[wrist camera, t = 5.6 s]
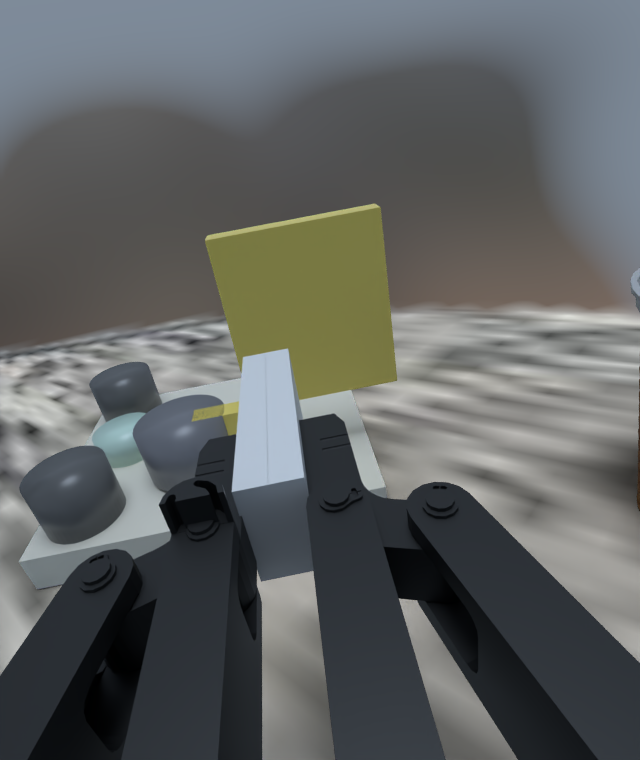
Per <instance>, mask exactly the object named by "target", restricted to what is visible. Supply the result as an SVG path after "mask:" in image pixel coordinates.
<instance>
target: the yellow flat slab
mask: <svg viewBox="0 0 640 760" xmlns="http://www.w3.org/2000/svg"><path fill="white" fill-rule="evenodd" d="M205 243H206V246H207V250H208V254H209V257H210V261H211V265H212V268H213V272H214V276H215V279H216V283H217V286H218V290H219V294H220V297H221V301H222V305H223V308H224V312H225V316H226V319H227V323H228V327H229V330H230V334H231V338H232V341H233V345H234V348H235V352H236V356H237V359H238V363H239V367H240V370H241V374H242V363H243V357H247V356H252V355H257V354H262V353H267V352H272V351H277V350H282V349H288V350H289V355H290V360H291V364H292V369H293V374H294V378H295V383H296V388H297V392H298V397H299V400H303V399H308V398H313V397H318V396H323V395H328V394H333V393H338V392H343V391H348V390H353V389H358V388H363V387H368V386H373V385H378V384H383V383H388V382H393V381H397V374H396V363H395V353H394V343H393V332H392V322H391V311H390V301H389V291H388V280H387V270H386V260H385V249H384V238H383V229H382V218H381V207H379V206H378V205H376V204H371V205H365V206H360V207H355V208H349V209H344V210H339V211H334V212H328V213H323V214H318V215H313V216H308V217H302V218H297V219H292V220H286V221H281V222H276V223H271V224H265V225H261V226H255V227H250V228H244V229H240V230H234V231H229V232H223V233H218V234H213V235H208V236H207V237H206V239H205ZM238 410H239V401H238V402H233V403H228V404H224V403H223V402H222V401H221V400H220V399H219V398H217V397H215V396H211V395H189V396H184V397H180V398H176V399H173V400H170V401H168V402H165V403H163V404H161V405H159V406H157V407H155V408H153V409H152V410H150V411H149V412H147V413H146V414H145V415H144V416H142V417H141V418H140V419H139V420H138V422H137V423H136V424H135V426H134V429H133V438H134V440H135V442H136V445H137V447H138V449H139V452H140V454H141V456H142V459H143V461H144V463H145V466H146V468H147V470H148V473H149V475H150V477H151V480H152V482H153V484H154V485H155V486H156V487H158V488H159V489H162V490H164V491H169V490H170V489H171V488H172V487H174V486H175V485H177V484H179V483H181V482H182V481H185V480H188V479H191V478H194V477H195V472H196V467H197V462H198V457H199V452H200V451H201V449H202V448H203V447H204V445H205V444H206V443H207V442H208V440H209V439H214V438H219V437H224V436H229V435H234V434H237V422H238Z"/></svg>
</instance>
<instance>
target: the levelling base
mask: <svg viewBox="0 0 640 760" xmlns="http://www.w3.org/2000/svg"><path fill="white" fill-rule="evenodd" d="M89 385H90V388H91V390H92V392H93V394H94V397H95V399H96V401H97V403H98V405H99V408H100V410H101V412H102V416H101V418H100V420H99V421H98V423H97V425H96V427H95V428H94V430H93V432H92V434H91V435H90V437H89V439H88V441H87V442H86V444H85V446H79V447H74V448H71V449H67V450H64V451H62V452H59V453H57V454H55V455H53V456H51V457H49V458H47V459H45V460H44V461H42V462H41V463H39V464H38V465H36V466H35V467H34V468H33V469H32V470H30V471H29V472H28V474H27V475H26V476H25V477H24V478H23V480H22V482H21V484H20V493H21V494H22V496H23V498H24V499H25V501H26V503H27V504H28V506H29V507H30V509H31V511H32V512H33V514H34V516H35V517H36V519H37V520H38V522H39V524H40V525H39V527H38V529H37V531H36V532H35V534H34V536H33V538H32V539H31V541H30V543H29V545H28V546H27V548H26V550H25V552H24V554H23V555H22V557H21V559H20V561H19V563H20V565H21V566H22V568H23V569H24V571H25V572H26V574H27V575H28V577H29V578H30V580H31V581H32V583H33V584H34V586H35V587H36V588H37V589H42V588H47V587H52V586H57V585H62V584H64V582H65V581H66V579H67V578H68V577H69V575H70V574H71V573H72V572H73V571H74V570H75V569H76V568H77V566H78V565H80V564H81V563H82V562H84V561H85V560H87V559H88V558H89V557H91V556H93V555H95V554H98V553H100V552H102V551H106V550H112V549H120V550H125V551H127V552H128V553H129V554H130V555H131V556H132V558H133V559H135V558H137V557H140V556H142V555H144V554H146V553H148V552H151V551H153V550H155V549H157V548H159V547H161V546H162V545H164V544H166V543H167V542H168V541H170V538H171V532H170V530H169V528H168V525H167V523H166V521H165V519H164V516H163V514H162V512H161V509H160V507H159V503H160V501H161V499H162V497H163V496H164V495H165V494H166V493H167V492H168V491H164V490H162V489H159V488H158V487H156V486H155V485H154V484H153V482H152V480H151V477H150V475H149V473H148V470H147V468H146V466H145V463H144V461H143V459H142V456H141V454H140V452H139V449H138V447H137V445H136V442H135V440H134V438H133V429H134V426H135V424H136V423H137V422H138V420H139V419H140V418H141V417H142V416H144V415H145V414H146V413H147V412H149V411H150V410H152V409H153V408H155V407H157V406H159V405H161V404H163V403H165V402H168V401H170V400H173V399H176V398H180V397H184V396H189V395H211V396H215V397H217V398H219V399H220V400H221V401H222V402H223V403H224V404H228V403H233V402H238V401H239V399H240V387H241V378H239V379H234V380H228V381H223V382H218V383H213V384H208V385H203V386H198V387H193V388H188V389H183V390H178V391H173V392H168V393H163V394H159V393H158V390H157V388H156V385H155V382H154V380H153V377H152V374H151V372H150V369H149V367H148V365H147V364H146V363H143V362H130V363H125V364H121V365H117V366H114V367H112V368H109V369H107V370H105V371H103V372H101V373H100V374H98V375H97V376H95V377H94V378H93V379H92V380H91V382H90V384H89ZM299 402H300V406H301V411H302V416H303V419H308V418H313V417H318V416H323V415H328V414H333V413H334V414H336V415H337V416H338V417H339V418H340V419H342V420H343V421H344V422H345V426H346V429H347V433H348V436H349V439H350V443H351V446H352V450H353V453H354V457H355V460H356V464H357V467H358V471H359V474H360V477H361V481H362V483H363V485H364V486H365V487H366V488H367V489H368V490H369V491H370V492H372V493H373V494H375V495H377V496H380V497H383V498H387V492H386V486H385V483H384V480H383V478H382V475H381V472H380V469H379V466H378V464H377V461H376V458H375V455H374V452H373V450H372V447H371V444H370V441H369V439H368V436H367V433H366V430H365V427H364V425H363V422H362V419H361V416H360V413H359V411H358V408H357V405H356V402H355V399H354V397H353V394H352V391H351V390H348V391H343V392H338V393H333V394H328V395H323V396H318V397H313V398H308V399H303V400H299Z"/></svg>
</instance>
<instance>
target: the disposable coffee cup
mask: <svg viewBox="0 0 640 760" xmlns="http://www.w3.org/2000/svg"><path fill="white" fill-rule="evenodd" d="M630 281H631V293H632V294H633V295H634V296H635V297H636V307H637V308H638V310H639V312H640V268H639V269H638V270H637V271H636V272H635V273H634V274H633V276H632V278H631V280H630ZM639 371H640V367H639ZM639 387H640V379H639ZM638 435H639V440H638V448H639V451H638V494H637V504H638V508H639V511H640V392H639V429H638Z"/></svg>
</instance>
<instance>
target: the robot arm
mask: <svg viewBox="0 0 640 760" xmlns="http://www.w3.org/2000/svg"><path fill="white" fill-rule="evenodd" d="M159 507H160V509H161V512H162V514H163V516H164V519H165V521H166V523H167V525H168V528H169V530H170V532H171V538H170V541H168V542H167V543H166V544H164V545H162V546H161V547H159V548H157V549H155V550H153V551H151V552H148V553H146V554H144V555H142V556H140V557H137V558H135V559H133V558H132V556H131V555H130V554H129V553H128V552H127V551H125V550H120V549H112V550H106V551H102V552H100V553H98V554H95V555H93V556H91V557H89V558H88V559H87V560H85V561H84V562H82V563H81V564H80V565H78V566H77V568H76V569H75V570H74V571H73V572H72V573H71V574H70V575H69V577H68V578H67V579H66V581H65V582H64V584H63V585H62V587H61V588H60V590H59V591H58V593H57V594H56V595H55V597H54V598H53V600H52V601H51V603H50V604H49V606H48V607H47V609H46V610H45V612H44V613H43V614H42V616H41V617H40V619H39V620H38V622H37V623H36V625H35V626H34V628H33V629H32V630H31V632H30V633H29V635H28V636H27V638H26V639H25V641H24V642H23V644H22V645H21V646H20V648H19V649H18V651H17V652H16V654H15V655H14V657H13V658H12V660H11V661H10V662H9V664H8V665H7V667H6V668H5V670H4V671H3V673H2V674H1V676H0V760H262V602H261V598H260V594H259V591H258V588H257V570H258V573H259V576H260V579H261V581H266V580H271V579H276V578H280V577H285V576H290V575H295V574H300V573H305V572H310V571H314V579H315V587H316V596H317V605H318V613H319V622H320V630H321V639H322V648H323V656H324V665H325V673H326V682H327V691H328V699H329V708H330V717H331V725H332V734H333V742H334V751H335V760H446V759H445V756H444V752H443V749H442V746H441V742H440V739H439V735H438V732H437V728H436V725H435V722H434V718H433V715H432V711H431V708H430V705H429V701H428V698H427V694H426V691H425V687H424V684H423V681H422V677H421V674H420V670H419V667H418V664H417V660H416V657H415V653H414V650H413V646H412V643H411V640H410V636H409V633H408V629H407V626H406V622H405V619H404V616H403V612H402V609H401V605H400V602H399V599H398V598H401V599H410V600H417V601H418V603H419V605H420V607H421V608H422V610H423V612H424V613H425V615H426V616H427V618H428V619H429V621H430V622H431V624H432V626H433V627H434V629H435V630H436V632H437V633H438V635H439V637H440V638H441V640H442V641H443V643H444V644H445V646H446V647H447V649H448V651H449V652H450V654H451V655H452V657H453V658H454V660H455V662H456V663H457V665H458V666H459V668H460V669H461V671H462V673H463V674H464V676H465V677H466V679H467V680H468V682H469V683H470V685H471V687H472V688H473V690H474V691H475V693H476V694H477V696H478V698H479V699H480V701H481V702H482V704H483V705H484V707H485V708H486V710H487V712H488V713H489V715H490V716H491V718H492V719H493V721H494V723H495V724H496V726H497V727H498V729H499V730H500V732H501V734H502V735H503V737H504V738H505V740H506V741H507V743H508V744H509V746H510V748H511V749H512V751H513V752H514V754H515V755H516V757H517V759H518V760H640V663H639V662H638V661H637V660H636V659H635V658H634V657H633V656H632V655H631V654H630V653H629V652H628V651H627V650H626V649H625V648H624V647H623V646H622V645H621V644H620V643H619V642H618V641H617V640H616V639H615V638H614V637H613V636H612V635H611V634H610V633H609V632H608V631H607V630H606V629H605V628H604V627H603V626H602V625H601V624H600V623H599V622H598V621H597V620H596V619H595V618H594V617H593V616H592V615H591V614H590V613H589V612H588V611H587V610H586V609H585V608H584V607H583V606H582V605H581V604H580V603H579V602H578V601H577V600H576V599H575V598H574V597H573V596H572V595H571V594H570V593H569V592H568V591H567V590H566V589H565V588H564V587H563V586H562V585H561V584H560V583H559V582H558V581H557V580H556V579H555V578H554V577H553V576H552V575H551V574H550V573H549V572H548V571H547V570H546V569H545V568H544V567H543V566H542V565H541V564H540V563H539V562H538V561H537V560H536V559H535V558H534V557H533V556H532V555H531V554H530V553H529V552H528V551H527V550H526V549H525V548H524V547H523V546H522V545H521V544H520V543H519V542H518V541H517V540H516V539H515V538H514V537H513V536H512V535H511V534H510V533H509V532H508V531H507V530H506V529H505V528H504V527H503V526H502V525H501V524H500V523H499V522H498V521H497V520H496V519H495V518H494V517H493V516H492V515H491V514H490V513H489V512H488V511H487V510H486V509H485V508H484V507H483V506H482V505H481V504H480V503H479V502H478V501H477V500H476V499H475V498H474V497H473V496H472V495H471V494H470V493H468V492H467V491H465V490H464V489H463V488H461V487H460V486H457V485H454V484H450V483H446V482H433V483H428V484H424V485H422V486H420V487H418V488H417V489H415V490H413V491H412V493H411V494H410V496H409V497H408V498H407V500H398V499H388V498H383V497H380V496H377V495H375V494H373V493H372V492H370V491H369V490H368V489H367V488H366V487H365V486H364V485H363V483H362V481H361V477H360V474H359V471H358V467H357V464H356V460H355V457H354V453H353V450H352V446H351V443H350V439H349V436H348V433H347V429H346V426H345V422H344V421H343V420H342V419H340V418H339V417H338V416H337V415H336V414H334V413H333V414H328V415H323V416H318V417H313V418H308V419H303V416H302V411H301V406H300V402H299V397H298V392H297V388H296V383H295V378H294V374H293V369H292V364H291V360H290V355H289V350H288V349H282V350H277V351H272V352H267V353H262V354H257V355H252V356H247V357H243V363H242V375H241V387H240V399H239V410H238V422H237V434H234V435H229V436H224V437H219V438H214V439H209V440H208V442H207V443H206V444H205V445H204V447H203V448H202V449H201V451H200V452H199V457H198V462H197V467H196V472H195V477H194V478H191V479H188V480H185V481H182V482H181V483H179V484H177V485H175V486H174V487H172V488H171V489H170V490H169V491H168V492H167V493H166V494H165V495H164V496H163V497H162V499H161V501H160V503H159Z"/></svg>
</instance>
